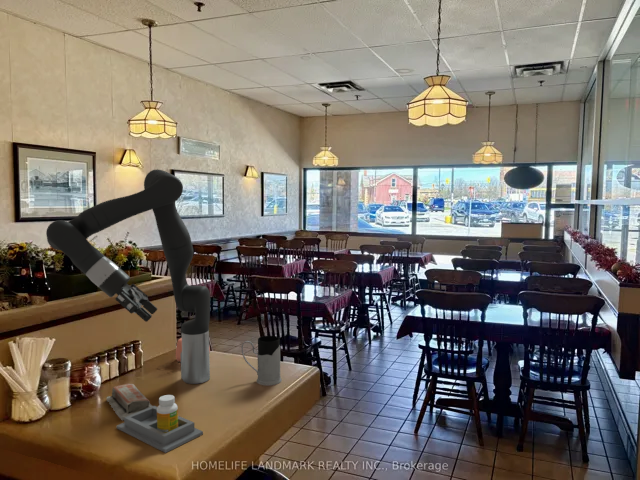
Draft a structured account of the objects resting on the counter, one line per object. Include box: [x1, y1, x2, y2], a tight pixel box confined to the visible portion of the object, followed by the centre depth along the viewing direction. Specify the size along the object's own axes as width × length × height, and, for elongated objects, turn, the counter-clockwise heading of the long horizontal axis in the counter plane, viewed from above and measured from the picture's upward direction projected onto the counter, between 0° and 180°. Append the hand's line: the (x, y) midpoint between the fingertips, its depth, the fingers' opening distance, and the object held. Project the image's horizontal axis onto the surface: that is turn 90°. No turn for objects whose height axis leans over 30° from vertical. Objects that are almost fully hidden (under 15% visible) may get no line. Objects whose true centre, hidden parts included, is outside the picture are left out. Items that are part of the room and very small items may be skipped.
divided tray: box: [116, 405, 204, 454], centre depth 135 cm, size 22×12×3 cm, turn 54°
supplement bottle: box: [156, 394, 179, 433], centre depth 132 cm, size 5×5×10 cm
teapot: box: [175, 337, 211, 363], centre depth 192 cm, size 12×18×10 cm, turn 170°
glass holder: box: [241, 335, 283, 386], centre depth 171 cm, size 9×14×15 cm, turn 80°
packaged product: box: [105, 383, 153, 422], centre depth 151 cm, size 18×5×10 cm
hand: (152, 315), depth 140 cm, fingers open, 8 cm apart
